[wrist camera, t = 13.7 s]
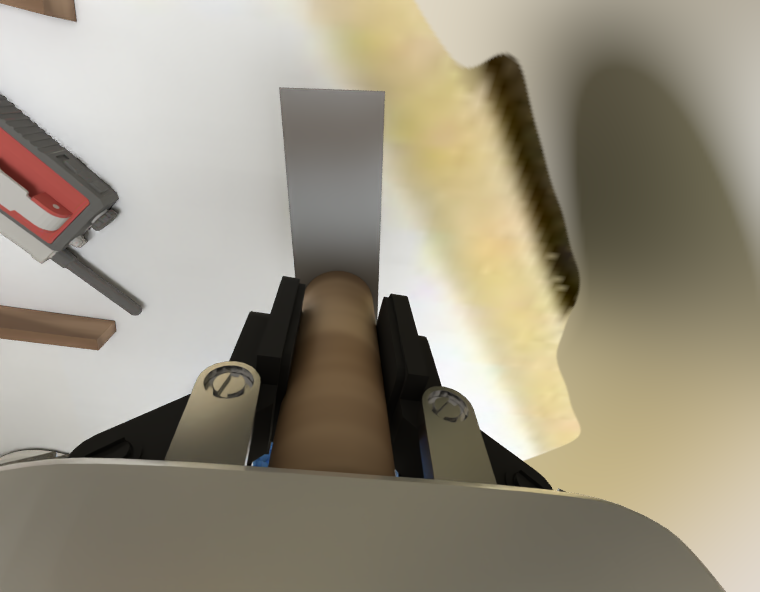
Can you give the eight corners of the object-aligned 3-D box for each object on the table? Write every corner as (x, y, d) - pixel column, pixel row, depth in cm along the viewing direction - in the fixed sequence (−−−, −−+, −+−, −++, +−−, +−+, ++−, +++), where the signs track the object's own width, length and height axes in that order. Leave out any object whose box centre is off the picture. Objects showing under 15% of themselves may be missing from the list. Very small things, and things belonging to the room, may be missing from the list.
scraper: (367, 364, 22) (392, 658, 11) (315, 365, 22) (283, 669, 10) (373, 91, 15) (456, 89, 4) (298, 89, 15) (150, 78, 4)
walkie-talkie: (-103, 135, 27) (139, 312, 36) (-176, 144, 24) (115, 339, 32) (-42, 49, 25) (200, 259, 34) (-111, 43, 21) (182, 281, 30)
